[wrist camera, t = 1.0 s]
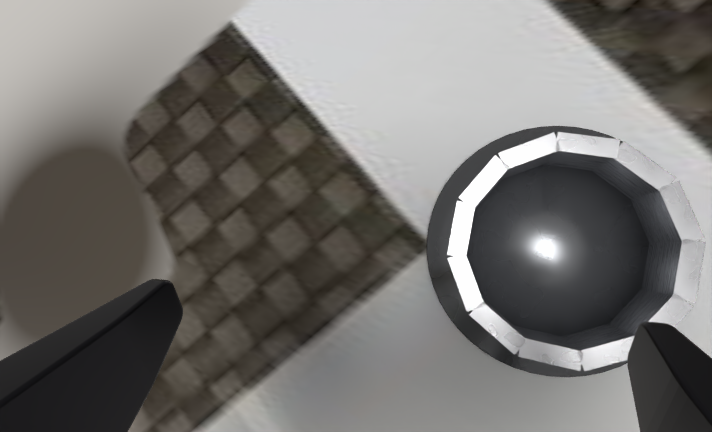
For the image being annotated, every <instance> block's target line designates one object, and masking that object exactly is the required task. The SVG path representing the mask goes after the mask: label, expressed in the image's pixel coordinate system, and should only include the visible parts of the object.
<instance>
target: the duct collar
mask: <svg viewBox="0 0 712 432" xmlns="http://www.w3.org/2000/svg"><path fill="white" fill-rule="evenodd" d="M675 179H676V177H675V176H674V175H672V174H671V173H669V172H668V171H666V170H665V169H664V168H662V167H661V166H659V165H658V164H656V163H655V162H654V161H652V160H651V159H649V158H648V157H646V156H645V155H644V154H642V153H641V152H640V151H638V150H636V149H635V148H634V147H632V146H631V145H629V144H628V143H626V142H625V141H624V142H622V141H620V139H616V138H614V137H611V136H609V135H606V134H603V133H600V132H596V131H593V130H588V129H583V128H577V127H567V126H548V127H537V128H532V129H526V130H522V131H519V132H515V133H512V134H509V135H506V136H504V137H502V138H500V139H497V140H495V141H493V142H491V143H490V144H488V145H486V146H485V147H483V148H481V149H480V150H478V151H477V152H476V153H474V154H473V155H472V156H471V157H469V158H468V159H467V160H466V161H465V162H464V163H463V164H462V165H461V166H460V167H459V168H458V169H457V170H456V171H455V172H454V174H453V175H452V176H451V178H450V179H449V180H448V182H447V183H446V184H445V186H444V188H443V190H442V192H441V193H440V195H439V197H438V199H437V202H436V204H435V207H434V209H433V212H432V216H431V220H430V224H429V229H428V238H427V258H428V265H429V272H430V276H431V279H432V283H433V286H434V289H435V291H436V294H437V296H438V298H439V301H440V303H441V304H442V306H443V308H444V310H445V311H446V313H447V315H448V316H449V318H450V319H451V320H452V321H453V323H454V324H455V325H456V327H457V328H458V329H459V330H460V331H461V332H462V333H463V334H464V335H465V336H466V337H467V338H468V339H469V340H470V341H471V342H472V343H473V344H475V345H476V346H477V347H479V348H480V349H481V350H482V351H484V352H485V353H487V354H489V355H490V356H492V357H494V358H495V359H497V360H498V361H501V362H503V363H505V364H507V365H510V366H512V367H514V368H517V369H520V370H524V371H527V372H530V373H535V374H540V375H546V376H556V377H576V376H587V375H592V374H597V373H602V372H605V371H608V370H611V369H614V368H617V367H620V366H622V365H624V364H626V363H627V359H628V353H629V350H630V347H631V344H632V342H633V339H634V336H635V333H636V331H637V328H638V326H639V325H640V323H642V322H645V321H647V322H658V323H667V324H670V325H672V326H673V327H675V326H676V325H677V324H678V323H679V322H680V321H681V320H682V319H683V318H684V317H685V316H686V315H687V314H688V312H689V311H690V310H691V309H692V308H693V306H692V305H691V304H689V303H688V302H693V303H696V298H697V292H698V286H699V280H700V274H701V268H702V262H703V256H704V250H705V244H706V242H702V241H697V240H700V239H703V238H705V236H704V234H703V232H702V230H701V228H700V225H699V223H698V221H697V219H696V217H695V214H694V212H693V210H692V208H691V206H690V203H689V201H688V199H687V197H686V195H685V192H684V190H683V188H682V186H681V184H680V181H677V182H674V183H672V182H673V181H674V180H675ZM687 301H688V302H687Z"/></svg>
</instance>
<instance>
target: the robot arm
mask: <svg viewBox="0 0 712 432" xmlns="http://www.w3.org/2000/svg"><path fill="white" fill-rule="evenodd" d="M182 316H183V308H182V305H181V303H180V300H179V298H178V295H177V293H176V290H175V288H174V285H173V284H172V283H171V282H170V281H168V280H159V279H152V280H149V281H147V282H145V283H143V284H141V285H139V286H137V287H136V288H134V289H132V290H130V291H128V292H126V293H125V294H123V295H121V296H119V297H117V298H115V299H114V300H112V301H110V302H108V303H106V304H104V305H102V306H101V307H99V308H97V309H95V310H93V311H91V312H90V313H88V314H86V315H84V316H82V317H80V318H78V319H77V320H75V321H73V322H71V323H69V324H67V325H66V326H64V327H62V328H60V329H58V330H56V331H55V332H53V333H51V334H49V335H47V336H45V337H43V338H41V339H40V340H38V341H36V342H34V343H32V344H30V345H29V346H27V347H25V348H23V349H21V350H19V351H17V352H16V353H14V354H12V355H10V356H8V357H6V358H5V359H3V360H1V361H0V432H128V430H129V428H130V427H131V425H132V423H133V421H134V419H135V417H136V416H137V414H138V412H139V410H140V408H141V406H142V405H143V403H144V401H145V399H146V397H147V396H148V394H149V392H150V390H151V388H152V386H153V384H154V382H155V380H156V378H157V375H158V373H159V371H160V369H161V366H162V364H163V362H164V359H165V357H166V355H167V352H168V350H169V348H170V345H171V343H172V341H173V338H174V336H175V334H176V331H177V329H178V327H179V324H180V322H181V320H182ZM627 363H628V370H629V376H630V381H631V386H632V391H633V396H634V401H635V406H636V412H637V417H638V422H639V427H640V432H712V358H711V357H709V356H708V355H707V354H706V353H705V352H703V351H702V350H701V349H700V348H699V347H697V346H696V345H695V344H694V343H693V342H691V341H690V340H689V339H688V338H687V337H685V336H684V335H683V334H682V333H681V332H679V331H678V330H677V329H676V328H675V327H673V326H672V325H670V324H667V323H658V322H647V321H645V322H642V323H640V325H639V326H638V328H637V331H636V333H635V336H634V339H633V342H632V344H631V347H630V350H629V353H628V359H627Z"/></svg>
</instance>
